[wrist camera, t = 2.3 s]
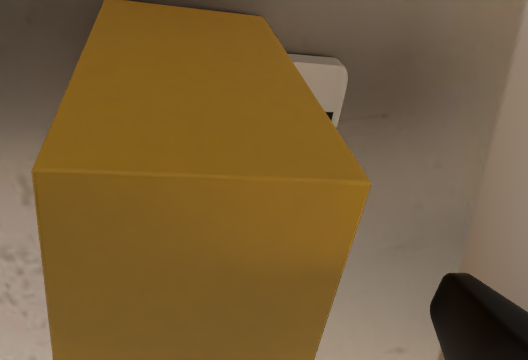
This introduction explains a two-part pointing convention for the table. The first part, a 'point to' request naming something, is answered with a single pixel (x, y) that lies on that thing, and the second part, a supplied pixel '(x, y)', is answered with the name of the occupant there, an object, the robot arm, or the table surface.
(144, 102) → the block
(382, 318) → the table surface
